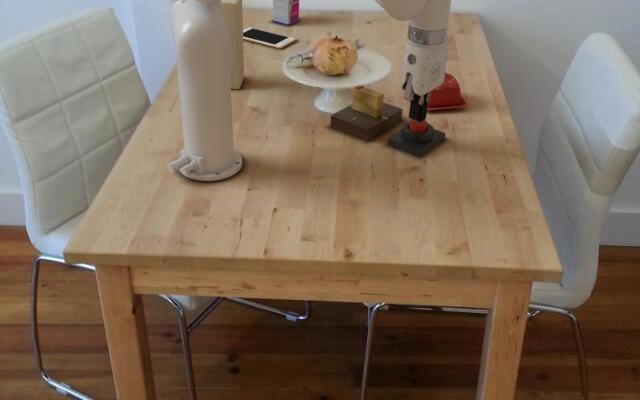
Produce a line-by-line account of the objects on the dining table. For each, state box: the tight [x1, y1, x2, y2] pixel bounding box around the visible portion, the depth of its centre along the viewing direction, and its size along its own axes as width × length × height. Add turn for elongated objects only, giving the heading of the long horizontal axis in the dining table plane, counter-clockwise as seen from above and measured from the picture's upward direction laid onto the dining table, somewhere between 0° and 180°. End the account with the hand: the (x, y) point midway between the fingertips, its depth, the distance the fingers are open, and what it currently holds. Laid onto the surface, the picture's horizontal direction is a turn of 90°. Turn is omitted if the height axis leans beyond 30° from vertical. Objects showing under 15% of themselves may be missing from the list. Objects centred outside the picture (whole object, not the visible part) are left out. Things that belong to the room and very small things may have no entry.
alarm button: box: [409, 119, 428, 133], centre depth 155 cm, size 4×4×2 cm
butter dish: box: [426, 69, 468, 111], centre depth 172 cm, size 12×12×8 cm
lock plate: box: [330, 101, 404, 143], centre depth 163 cm, size 13×11×3 cm
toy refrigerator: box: [221, 0, 245, 90], centre depth 175 cm, size 8×7×21 cm
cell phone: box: [243, 26, 297, 49], centre depth 206 cm, size 8×16×1 cm, turn 58°
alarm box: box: [387, 121, 447, 158], centre depth 156 cm, size 10×8×4 cm
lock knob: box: [352, 84, 385, 118], centre depth 161 cm, size 6×2×5 cm, turn 51°
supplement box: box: [272, 0, 300, 27], centre depth 216 cm, size 6×6×12 cm
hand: (417, 118), depth 154 cm, fingers closed
